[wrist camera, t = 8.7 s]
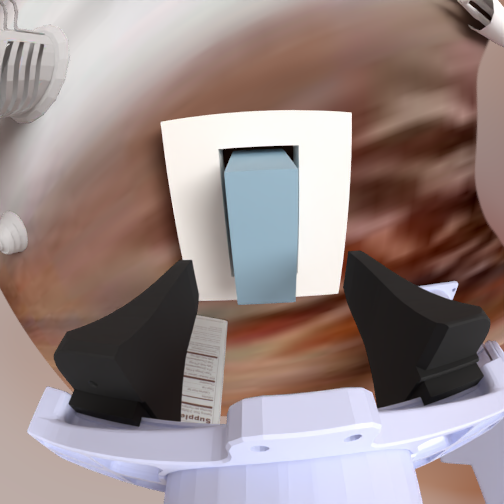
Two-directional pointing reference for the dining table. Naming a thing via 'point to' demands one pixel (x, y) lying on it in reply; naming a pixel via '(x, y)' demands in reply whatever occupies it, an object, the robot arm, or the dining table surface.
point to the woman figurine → (500, 27)
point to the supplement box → (204, 371)
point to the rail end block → (263, 224)
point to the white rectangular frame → (215, 202)
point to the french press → (30, 69)
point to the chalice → (12, 234)
